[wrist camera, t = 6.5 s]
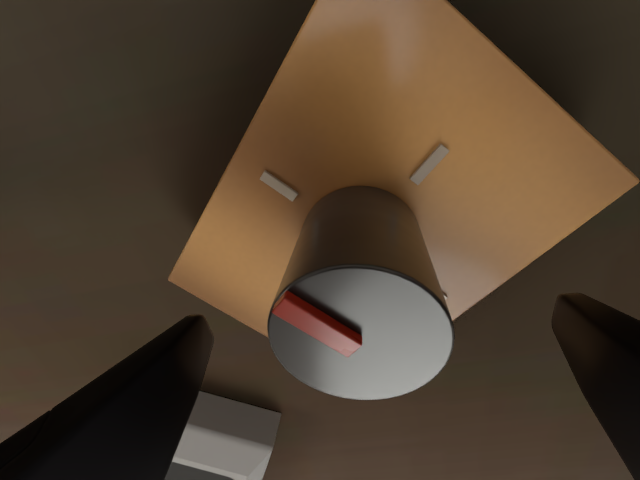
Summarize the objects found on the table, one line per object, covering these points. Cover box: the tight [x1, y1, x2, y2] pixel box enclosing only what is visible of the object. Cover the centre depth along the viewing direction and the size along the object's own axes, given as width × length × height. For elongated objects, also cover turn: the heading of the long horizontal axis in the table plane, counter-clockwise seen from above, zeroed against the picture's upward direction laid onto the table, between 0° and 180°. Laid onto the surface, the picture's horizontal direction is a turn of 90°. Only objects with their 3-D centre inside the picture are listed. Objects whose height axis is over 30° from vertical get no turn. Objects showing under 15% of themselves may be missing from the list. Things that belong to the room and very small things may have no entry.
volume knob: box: [267, 186, 455, 400], centre depth 9 cm, size 4×4×5 cm
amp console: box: [168, 0, 640, 337], centre depth 13 cm, size 14×11×4 cm
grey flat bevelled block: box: [165, 391, 281, 480], centre depth 26 cm, size 10×4×15 cm
